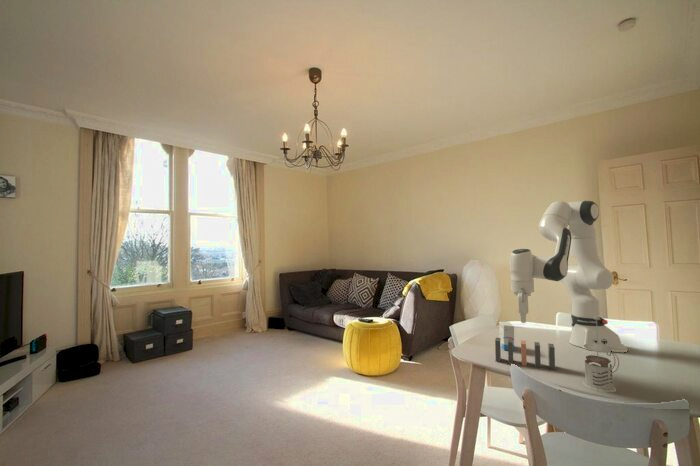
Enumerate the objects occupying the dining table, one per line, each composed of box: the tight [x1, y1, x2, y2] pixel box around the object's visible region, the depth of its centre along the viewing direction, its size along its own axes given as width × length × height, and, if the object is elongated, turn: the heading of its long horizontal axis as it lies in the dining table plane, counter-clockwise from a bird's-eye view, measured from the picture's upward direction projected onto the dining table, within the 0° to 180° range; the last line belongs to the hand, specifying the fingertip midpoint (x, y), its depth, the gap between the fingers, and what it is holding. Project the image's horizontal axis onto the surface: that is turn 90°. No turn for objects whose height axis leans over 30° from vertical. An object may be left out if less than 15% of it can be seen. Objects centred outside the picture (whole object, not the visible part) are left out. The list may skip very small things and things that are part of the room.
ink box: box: [498, 321, 515, 352], centre depth 157 cm, size 9×5×12 cm, turn 168°
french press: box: [581, 316, 620, 393], centre depth 115 cm, size 10×12×25 cm
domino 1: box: [494, 337, 502, 363], centre depth 141 cm, size 2×5×9 cm, turn 153°
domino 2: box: [507, 339, 514, 364], centre depth 139 cm, size 2×5×9 cm, turn 153°
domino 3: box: [520, 339, 528, 367], centre depth 136 cm, size 2×5×9 cm, turn 153°
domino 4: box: [533, 341, 542, 369], centre depth 134 cm, size 2×5×9 cm, turn 153°
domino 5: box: [547, 343, 556, 371], centre depth 132 cm, size 2×5×9 cm, turn 153°
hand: (523, 319), depth 137 cm, fingers open, 8 cm apart
